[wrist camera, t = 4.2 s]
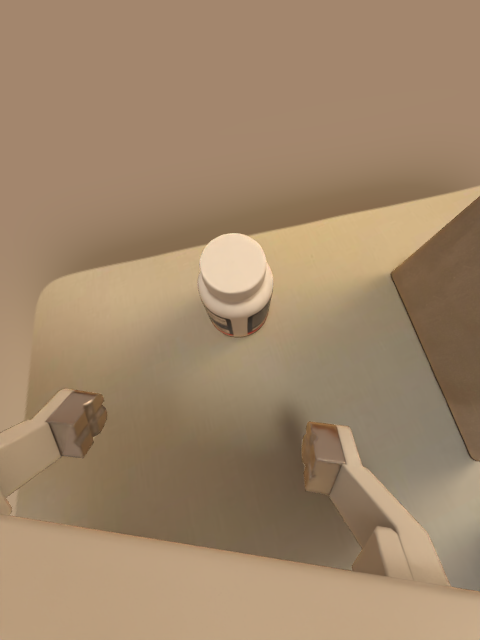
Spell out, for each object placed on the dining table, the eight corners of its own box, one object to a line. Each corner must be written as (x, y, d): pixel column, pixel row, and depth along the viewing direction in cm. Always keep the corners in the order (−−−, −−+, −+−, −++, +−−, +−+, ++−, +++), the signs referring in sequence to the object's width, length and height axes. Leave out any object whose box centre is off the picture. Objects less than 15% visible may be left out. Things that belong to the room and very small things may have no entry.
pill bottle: (263, 280, 25) (273, 219, 17) (271, 334, 24) (285, 298, 15) (207, 285, 25) (187, 227, 17) (210, 340, 24) (190, 307, 15)
